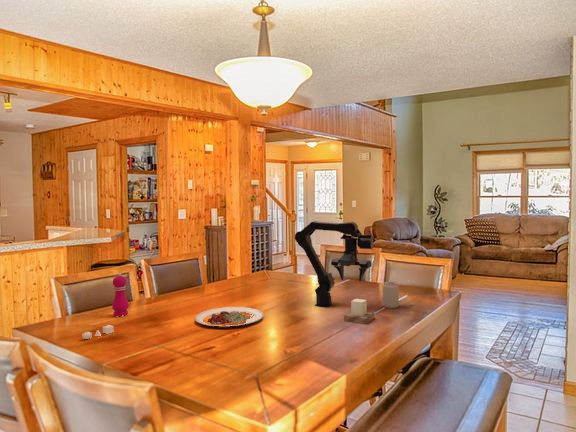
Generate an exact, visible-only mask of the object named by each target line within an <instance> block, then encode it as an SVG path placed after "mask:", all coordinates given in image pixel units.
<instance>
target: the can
mask: <svg viewBox="0 0 576 432" xmlns="http://www.w3.org/2000/svg"><path fill="white" fill-rule="evenodd" d="M399 289H400V287H399V285H398V282H396V281H392V280H391V281H388V280H387V281H384V282H383V285H382V306H383V307H384V308H386V309H397V308H398V307H399V306H400V303H399V302H400V301H399V298H400V297H399V296H400V295H399V294H400V292H399Z"/></svg>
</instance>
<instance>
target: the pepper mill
mask: <svg viewBox="0 0 576 432" xmlns="http://www.w3.org/2000/svg"><path fill="white" fill-rule="evenodd" d="M112 285H113V286H114V287H113V288H114V289H113V290H114V292H115V293H114V294H115V296H114V299H113V302H112V305H111V307H112V310H113V317H114V316H122V315H127V314H128V315H129V310H128V309H129V307H130V306H129V305H130V303H129V301H128V298H127V296H126V293H125V291H126V290H127V289H126V287H127V286H126V285H127V278H126V277H125V276H122V273H121V272H118V273H117V276H115V277H114V278H113V279H112ZM128 315H127V316H128Z"/></svg>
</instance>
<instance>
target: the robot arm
mask: <svg viewBox="0 0 576 432" xmlns="http://www.w3.org/2000/svg"><path fill="white" fill-rule="evenodd" d="M316 230H317V231H331V232H339V233H341V234H342V236H341V237H340V240H344V250H343V254H342V256H341V257H340V258H339V257H337V258H333V259H331V261H330V266H333V268H335V269H336V270H337V272H338V274H339V276H340V279H341V281H343V280H344V277H345V273H344V272H345V268H344V267H350V266H351V265H352V266H358V267H359V268H358V271H359V276H358V277H359V278H358V281H359V283H361V282H362V280H363V277H364V275H365V272H366V271H367V270H368V269H369V268H371V267H372V265H373V264H372V263H373V262H372V261H371V260H367V259H363V260H360V261H359V258H358V253H359V250H358V248H359V249H360V250H373V247H374V240H373V234H362V232H361V231H360V230H359V225H358V224H357V222H354V221H349V222H348V221H347V222H340V223H339V222H327V221H326V222H324V221H323V222H322V221H317V220H314V221H311V222H309V224H308V225H306V226H305V227H304V228H302V229H301V230H300V231H297V232H296V233H295V234H294V240H295V242H296V243H297V244H298V246H299V247H301V248H302V250H303V251H304V252H305V255H306V257H307V259H308V260H309V262H310V264H311V267H312V268H313V270H314V272H315V275H317V284H318V287H316V288H315V289H314V293H315V294H316V296H315V297H316V298H315V299H316V303H315V304H314V306H317V307H323V308H327V307H330V306H331V305H332V304H333V303H332V296H331V290H332V289H333V288H334V286H335V284H336V283H335V278H334V276H333V274H332V272H329V273H328V272H327V271H326V270H325V267H324V265H323V264H322V261H321V259H320V258H319V256H318V254H317V253H316V250H315V248H314V246H313V243H312V237H311V236H312V235H313V234H314V233H315V231H316Z"/></svg>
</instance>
